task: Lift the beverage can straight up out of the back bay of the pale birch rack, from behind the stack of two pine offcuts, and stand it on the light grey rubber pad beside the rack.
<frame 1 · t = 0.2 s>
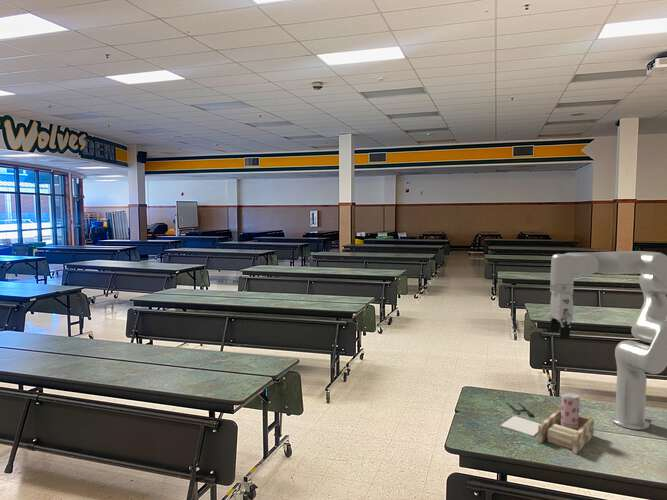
hand: (559, 335, 170), 36 cm above the table, tool pointing down, fingers open, 9 cm apart
offcut upper: (562, 436, 163), point 2 cm above the table, touching offcut lower
pad: (522, 426, 176), on the table
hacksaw: (510, 406, 197), on the table
rack: (565, 439, 166), on the table
beverage can: (569, 436, 169), on the table
offcut lower: (562, 443, 164), on the table, touching offcut upper
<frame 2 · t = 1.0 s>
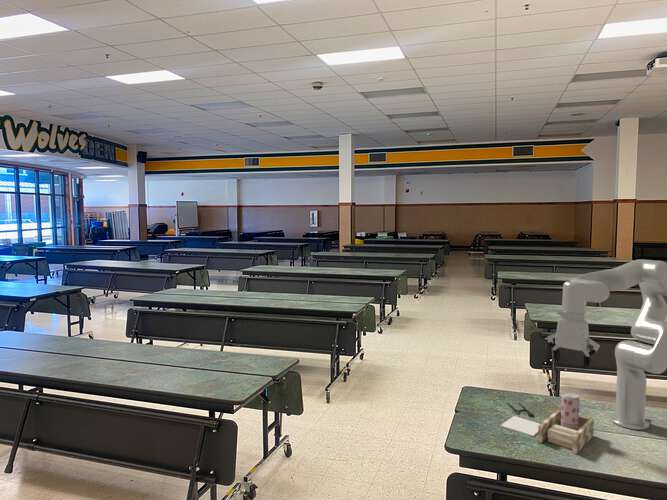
hand: (571, 363, 167), 26 cm above the table, tool pointing down, fingers open, 9 cm apart
nothing on the table moved.
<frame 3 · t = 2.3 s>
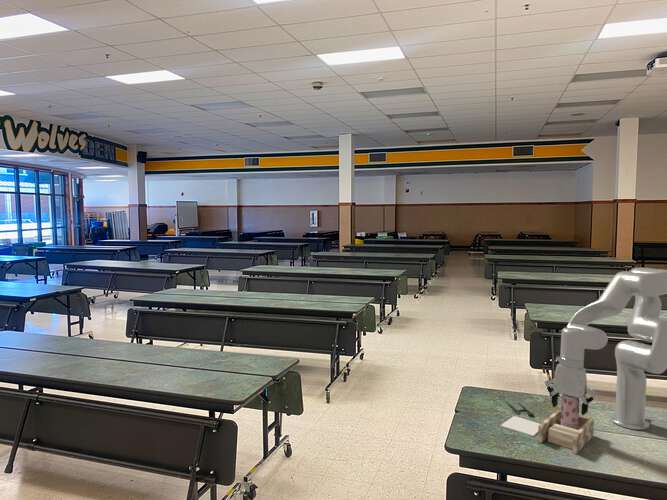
hand: (569, 409, 168), 10 cm above the table, tool pointing down, fingers open, 9 cm apart
nothing on the table moved.
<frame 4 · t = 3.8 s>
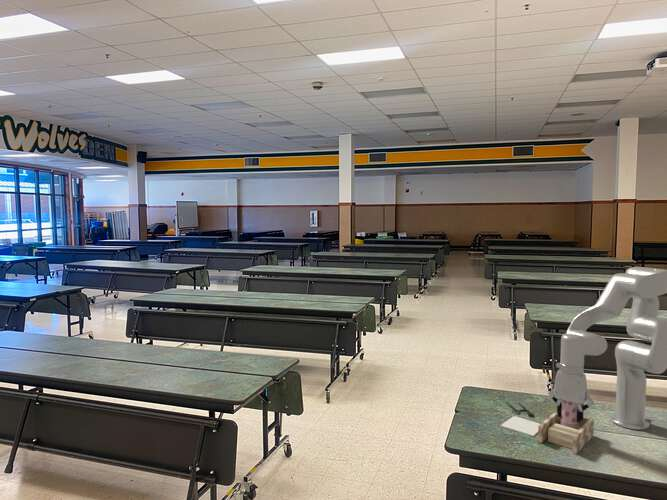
hand: (569, 418, 168), 7 cm above the table, tool pointing down, fingers closed on beverage can, 5 cm apart
offcut upper: (563, 436, 164), point 2 cm above the table
beverage can: (569, 436, 169), on the table, touching gripper
offcut lower: (562, 443, 164), on the table
everything else where it was.
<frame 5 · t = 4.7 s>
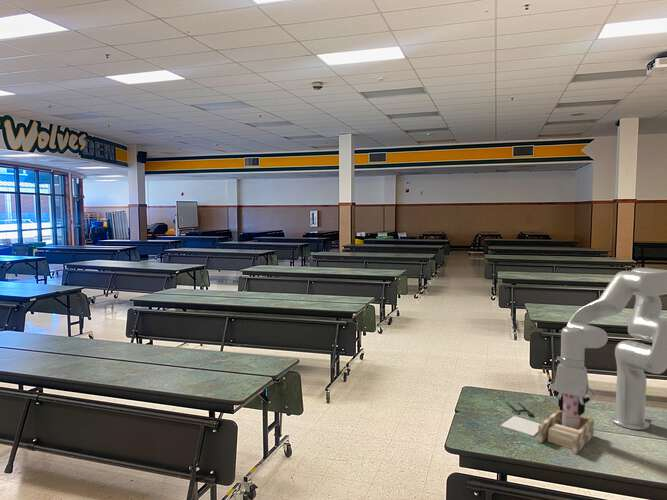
hand: (571, 411, 168), 9 cm above the table, tool pointing down, fingers closed on beverage can, 5 cm apart
offcut upper: (563, 436, 164), point 2 cm above the table, touching offcut lower
beverage can: (570, 429, 169), point 2 cm above the table, touching gripper
offcut lower: (562, 443, 164), on the table, touching offcut upper
everything else where it was.
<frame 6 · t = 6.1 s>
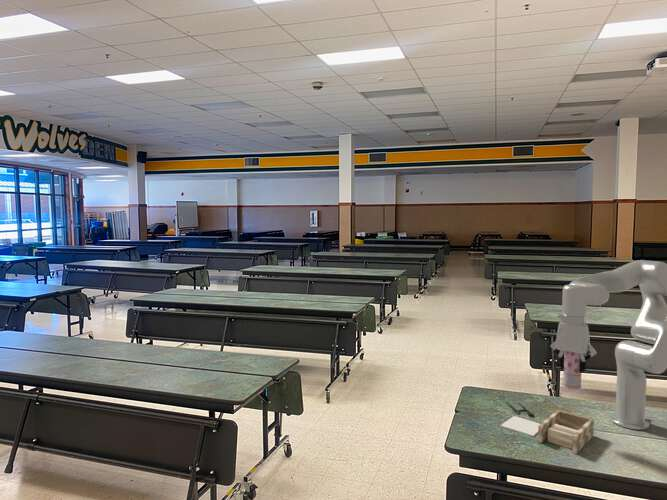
hand: (572, 369, 167), 24 cm above the table, tool pointing down, fingers closed on beverage can, 5 cm apart
beverage can: (571, 387, 168), point 18 cm above the table, touching gripper
everything else where it was.
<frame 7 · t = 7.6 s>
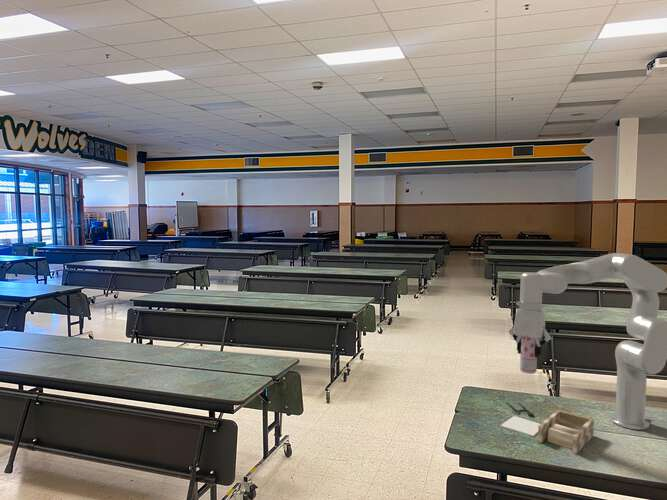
hand: (528, 354, 174), 28 cm above the table, tool pointing down, fingers closed on beverage can, 5 cm apart
beverage can: (528, 372, 174), point 21 cm above the table, touching gripper
everything else where it was.
when the fingers open (8 cm above the table, at t = 11.9 s): beverage can drops 1 cm, resting on pad.
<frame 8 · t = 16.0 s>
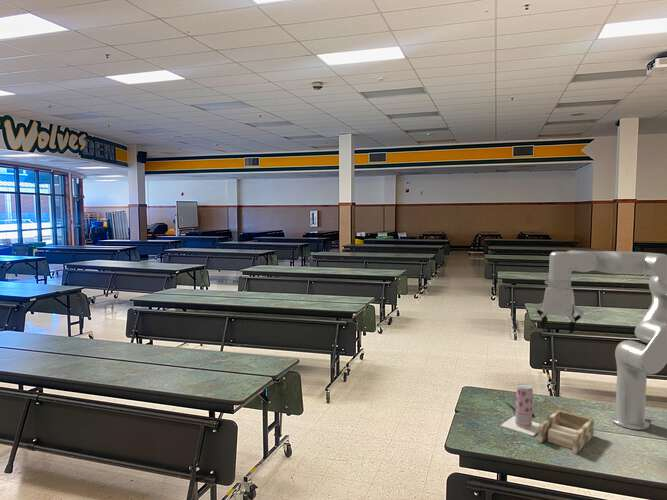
hand: (558, 330, 176), 36 cm above the table, tool pointing down, fingers open, 9 cm apart
offcut upper: (562, 436, 164), point 2 cm above the table
beverage can: (523, 425, 176), resting on pad
offcut lower: (562, 443, 164), on the table
everything else where it was.
at the end: beverage can inside the target area on the pad (0.1 cm from its centre), point 0.3 cm above the pad's base; beverage can tilted 0°; offcut upper moved 0.8 cm from its start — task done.
